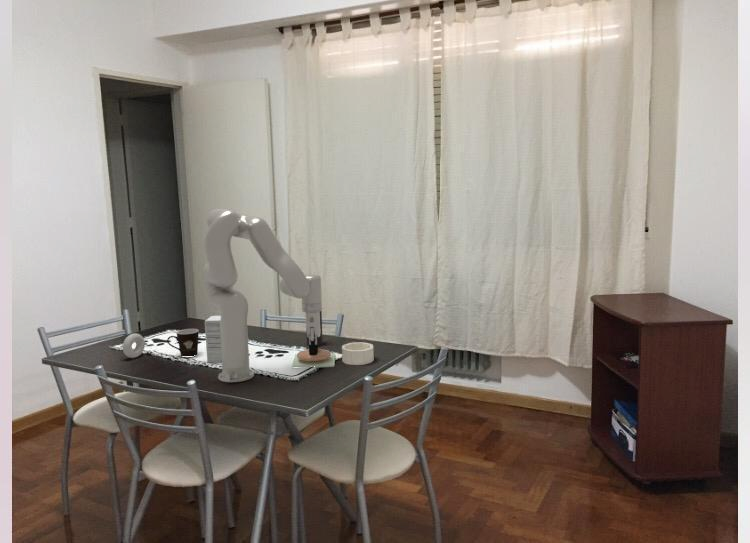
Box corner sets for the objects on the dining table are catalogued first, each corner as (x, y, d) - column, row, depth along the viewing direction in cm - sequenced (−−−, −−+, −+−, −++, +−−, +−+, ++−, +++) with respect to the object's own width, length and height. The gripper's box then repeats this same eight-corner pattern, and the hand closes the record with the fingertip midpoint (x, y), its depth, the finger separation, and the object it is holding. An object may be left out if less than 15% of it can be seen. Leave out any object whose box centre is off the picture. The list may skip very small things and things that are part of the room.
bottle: (318, 347, 246) (317, 300, 243) (304, 345, 248) (302, 299, 245) (325, 342, 252) (323, 297, 249) (310, 341, 254) (309, 296, 251)
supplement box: (230, 362, 227) (227, 320, 224) (206, 363, 227) (204, 320, 224) (236, 355, 236) (233, 314, 234) (213, 355, 236) (210, 315, 234)
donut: (127, 361, 231) (125, 337, 229) (121, 360, 232) (119, 336, 231) (147, 354, 240) (145, 331, 238) (141, 353, 241) (139, 330, 240)
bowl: (374, 364, 221) (373, 350, 220) (342, 365, 220) (342, 351, 219) (372, 355, 232) (372, 341, 232) (342, 356, 232) (342, 343, 231)
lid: (330, 360, 220) (329, 345, 219) (295, 361, 219) (295, 346, 218) (331, 350, 233) (330, 336, 232) (298, 351, 232) (297, 337, 231)
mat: (334, 366, 219) (334, 365, 219) (291, 368, 218) (291, 366, 218) (335, 354, 235) (335, 353, 235) (295, 355, 234) (295, 354, 234)
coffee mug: (203, 352, 241) (202, 328, 240) (195, 358, 233) (193, 334, 231) (176, 352, 243) (174, 328, 241) (167, 358, 234) (165, 334, 233)
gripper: (321, 311, 215) (322, 359, 218) (322, 302, 231) (324, 347, 234) (300, 311, 215) (302, 359, 218) (303, 302, 231) (305, 347, 234)
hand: (313, 352), depth 226 cm, fingers closed on lid, 3 cm apart
